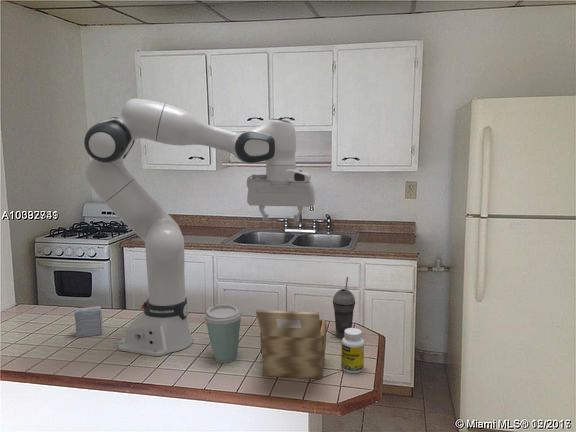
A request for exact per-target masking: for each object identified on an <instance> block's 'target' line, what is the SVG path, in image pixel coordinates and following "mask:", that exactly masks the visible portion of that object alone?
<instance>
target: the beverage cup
mask: <svg viewBox="0 0 576 432" xmlns="http://www.w3.org/2000/svg"><path fill="white" fill-rule="evenodd" d="M348 282H349V277H348V276H346V280H345V287H344V288H342V289H338V291H336V292H335V294H334V295H333V298H332V306H333V310H334V324H335V333H336V334H335V335H336V338H338V339H340V340H342V339H343V338H344V337H345V335H344V332H345V329H348V328H353V319H354V318H353V317H354V310H355V307H356V305H355V304H356V298H355V296H354V294H353V292H352V291H350V290H349V289H348Z"/></svg>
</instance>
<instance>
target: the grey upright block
mask: <svg viewBox="0 0 576 432" xmlns="http://www.w3.org/2000/svg"><path fill="white" fill-rule="evenodd" d="M74 321H75V323H74V324H75V332H76V334H75V335H76V339H79V338H87V337H93V336H95V337H96V336H102V335H103V332H104V328H103V327H104V326H103V314H102V306H101V305H98V306H97V305H95V306H90V307H89V306H88V307H79V308H75V311H74Z"/></svg>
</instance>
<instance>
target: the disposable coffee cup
mask: <svg viewBox="0 0 576 432" xmlns="http://www.w3.org/2000/svg"><path fill="white" fill-rule="evenodd" d="M242 316H243V315H242V311H241V310H240V309H239V308H238V307H237V306H236V305H233V304H227V303H221V304H214V305H212V306H210V307H208V308H207V310H206V312H205V315H204V320H205V322H206V328H207V332H208V336H209V341H210V346H211V350H212V353H213V354H212V355H213V358H214V360H215V361H216V362H218V363H221V364H222V363H225V364H226V363H230V362H233V361H235V360H236V359H237V356H238V350H239V341H240V332H241V331H240V329H241V322H242Z"/></svg>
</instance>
